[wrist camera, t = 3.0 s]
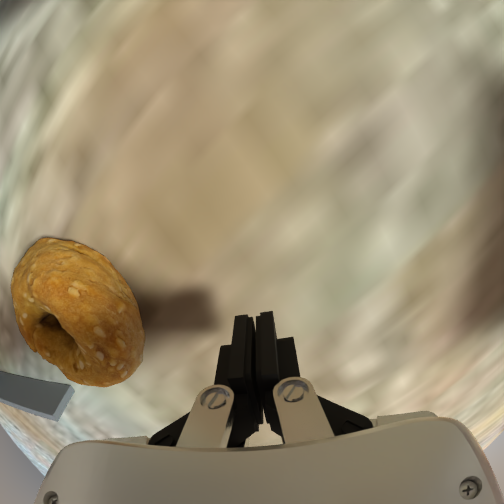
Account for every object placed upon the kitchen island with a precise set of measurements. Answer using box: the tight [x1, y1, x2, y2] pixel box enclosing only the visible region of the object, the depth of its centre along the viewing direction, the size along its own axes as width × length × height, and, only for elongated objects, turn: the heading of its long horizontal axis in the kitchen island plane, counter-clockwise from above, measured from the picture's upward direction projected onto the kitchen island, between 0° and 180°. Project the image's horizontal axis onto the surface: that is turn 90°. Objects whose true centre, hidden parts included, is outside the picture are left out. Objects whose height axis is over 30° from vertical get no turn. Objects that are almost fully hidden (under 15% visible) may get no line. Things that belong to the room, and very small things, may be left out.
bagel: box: [11, 238, 145, 387], centre depth 14 cm, size 10×11×5 cm
